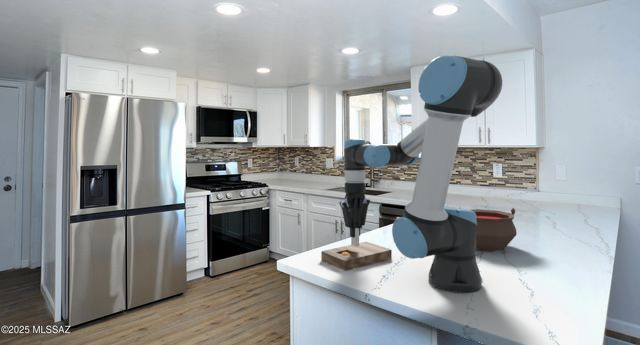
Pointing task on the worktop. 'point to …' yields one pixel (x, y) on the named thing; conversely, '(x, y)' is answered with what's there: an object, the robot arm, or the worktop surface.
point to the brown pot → (494, 229)
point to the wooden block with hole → (356, 255)
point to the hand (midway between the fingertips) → (355, 245)
